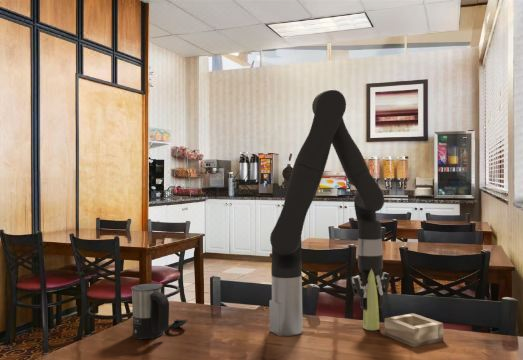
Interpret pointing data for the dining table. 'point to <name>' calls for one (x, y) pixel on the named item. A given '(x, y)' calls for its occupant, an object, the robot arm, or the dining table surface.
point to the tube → (371, 305)
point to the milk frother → (151, 312)
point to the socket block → (414, 329)
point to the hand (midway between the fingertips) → (371, 307)
